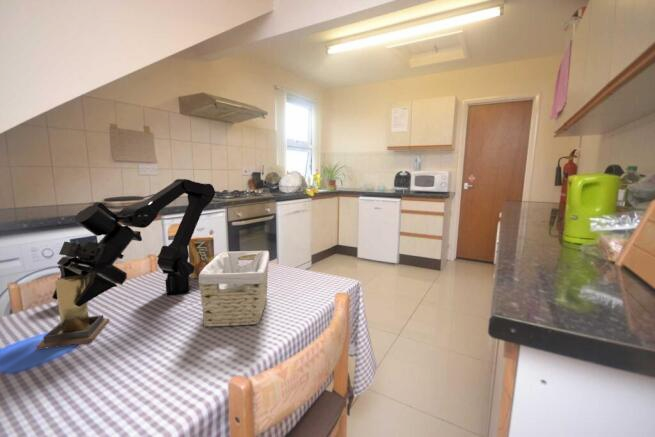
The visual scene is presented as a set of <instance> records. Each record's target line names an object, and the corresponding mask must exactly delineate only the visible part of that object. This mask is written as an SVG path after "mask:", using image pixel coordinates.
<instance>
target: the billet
mask: <svg viewBox="0 0 655 437" xmlns="http://www.w3.org/2000/svg"><path fill="white" fill-rule="evenodd" d="M55 289H56V290H57V298H58V299H57V306H58V311H59V312H58V313H59V320H60V322H61V328H62V333H69V332H77V331H85V330H87V329H88V328H89V327H90V323H89V317H90V316H89V307H88V302H86V303H85V304H83V305H81V306H76V305H75V303H76V301H77V300H78V298H79V297H80V295H81V294H82V292H83V291H84V289H85V281H84V276H70V277H65V278H61V279H59V280H58V279H57V280H55Z"/></svg>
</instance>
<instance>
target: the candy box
mask: <svg viewBox="0 0 655 437" xmlns="http://www.w3.org/2000/svg"><path fill="white" fill-rule="evenodd" d="M188 253H189V258H188V262H189V263H190V264H192V265H193V266H194V267H195V268H194V272H193V273H192V274H190V279H199V274H200V272H201V271H202V269H203V268H204V267H205V266H206V265H208V264H209V263H210V262H211V261H212V260H213V259H214V258H215V240H214V236H213V235H209V236H208V235H207V236H204V235H203V236H192V237H191V240H190V242H189V245H188Z"/></svg>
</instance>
